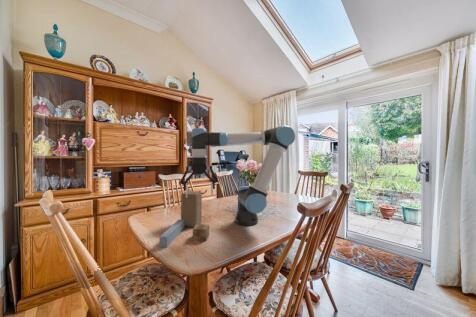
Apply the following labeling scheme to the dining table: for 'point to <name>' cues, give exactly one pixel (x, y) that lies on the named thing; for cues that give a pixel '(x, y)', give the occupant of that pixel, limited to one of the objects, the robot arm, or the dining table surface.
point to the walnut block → (201, 232)
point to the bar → (171, 233)
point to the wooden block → (191, 208)
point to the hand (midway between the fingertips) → (199, 195)
